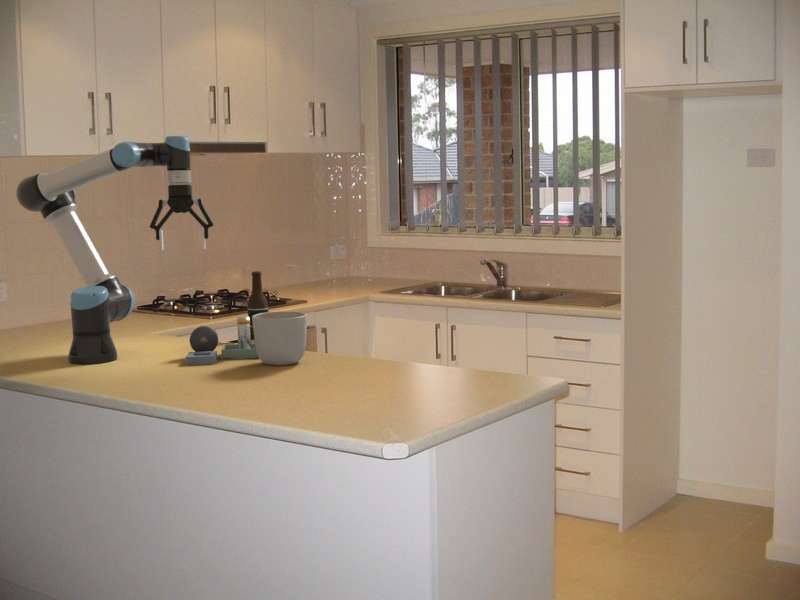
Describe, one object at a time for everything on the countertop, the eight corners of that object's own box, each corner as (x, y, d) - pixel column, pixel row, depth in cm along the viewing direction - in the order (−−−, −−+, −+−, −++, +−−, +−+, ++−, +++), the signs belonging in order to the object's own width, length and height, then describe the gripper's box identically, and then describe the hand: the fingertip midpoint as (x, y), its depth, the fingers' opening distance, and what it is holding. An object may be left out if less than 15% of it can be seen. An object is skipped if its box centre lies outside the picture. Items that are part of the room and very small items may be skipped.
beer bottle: (265, 339, 360) (263, 272, 357) (245, 339, 362) (242, 272, 358) (272, 336, 368) (270, 270, 364) (252, 335, 369) (249, 270, 366)
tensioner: (186, 365, 316) (184, 333, 314) (191, 355, 332) (190, 325, 331) (215, 363, 317) (213, 332, 315) (219, 354, 333) (218, 324, 332)
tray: (221, 359, 324) (221, 350, 324) (224, 353, 334) (223, 344, 334) (266, 357, 325) (265, 348, 325) (267, 352, 335) (267, 343, 335)
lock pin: (237, 355, 327) (236, 318, 326) (238, 352, 331) (237, 316, 330) (250, 354, 328) (249, 318, 326) (251, 352, 332) (250, 316, 330)
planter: (319, 362, 316) (318, 313, 314) (278, 370, 303) (276, 320, 301) (284, 356, 327) (282, 309, 325) (242, 364, 315) (240, 316, 313)
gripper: (138, 185, 323) (142, 251, 326) (217, 183, 325) (220, 249, 328) (142, 184, 330) (146, 249, 333) (219, 183, 333) (222, 247, 335)
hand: (183, 249), depth 330 cm, fingers open, 13 cm apart
